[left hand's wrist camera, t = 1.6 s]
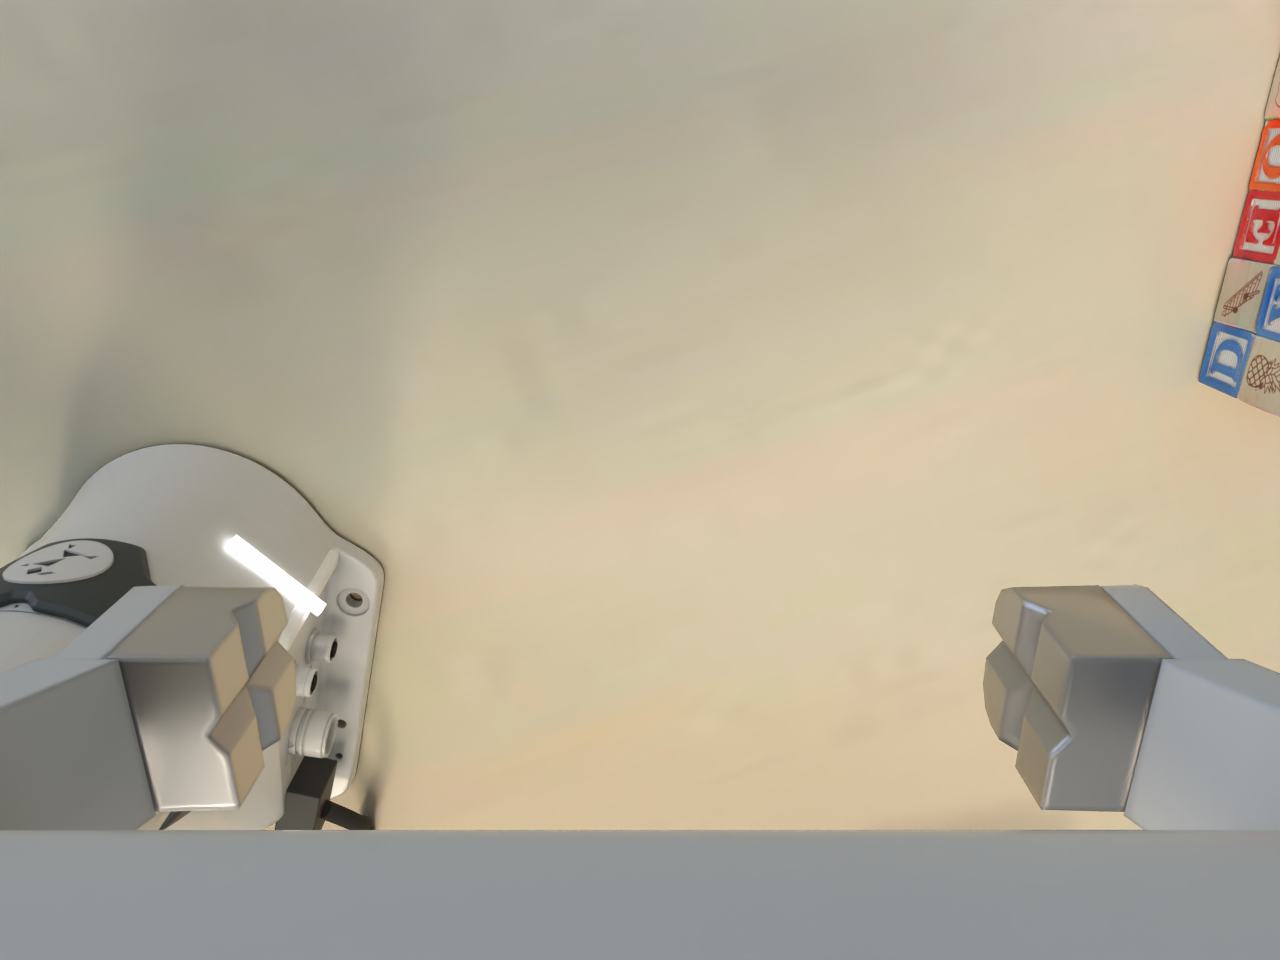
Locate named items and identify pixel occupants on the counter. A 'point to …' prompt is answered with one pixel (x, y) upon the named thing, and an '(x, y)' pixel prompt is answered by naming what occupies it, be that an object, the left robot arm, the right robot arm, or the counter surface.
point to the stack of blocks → (1252, 286)
